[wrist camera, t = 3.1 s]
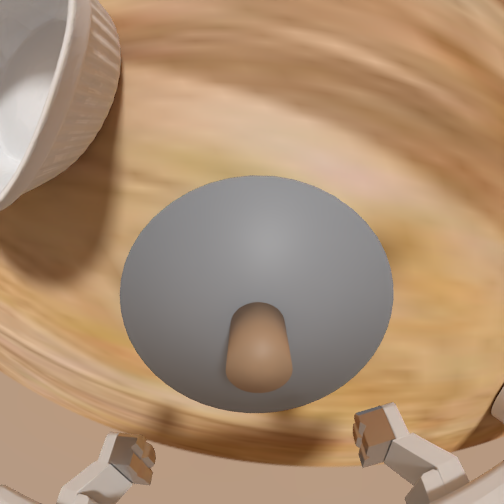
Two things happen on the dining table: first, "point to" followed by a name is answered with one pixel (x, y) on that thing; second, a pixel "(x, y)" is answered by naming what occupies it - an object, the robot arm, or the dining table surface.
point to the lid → (256, 294)
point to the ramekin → (52, 87)
